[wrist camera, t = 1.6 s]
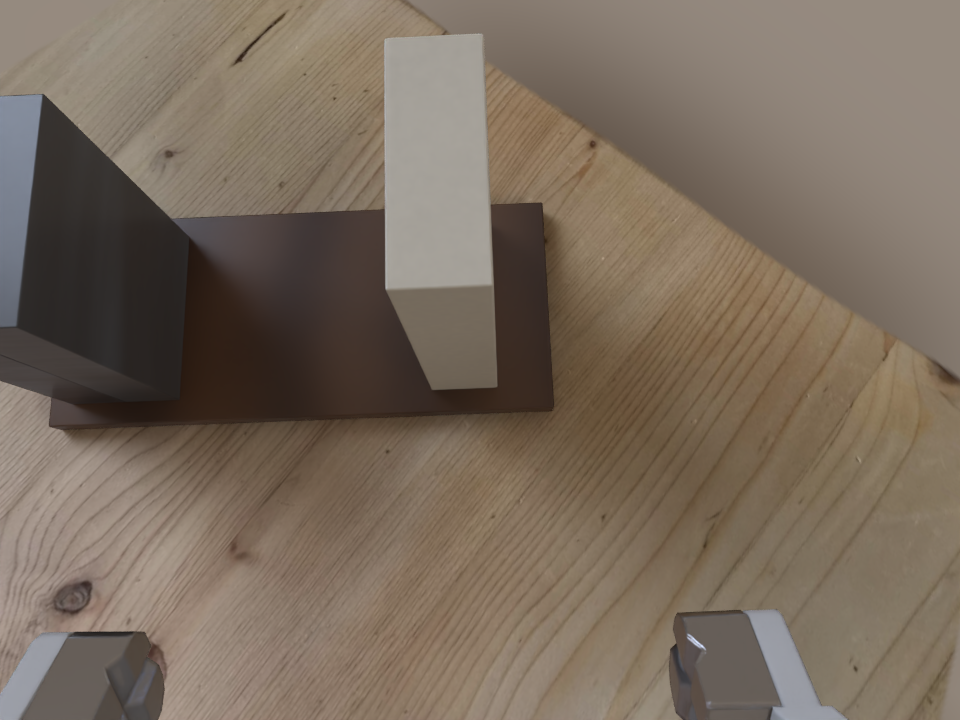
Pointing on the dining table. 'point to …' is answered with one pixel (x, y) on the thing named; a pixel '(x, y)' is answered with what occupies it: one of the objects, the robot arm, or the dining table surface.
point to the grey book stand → (224, 301)
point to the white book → (440, 206)
